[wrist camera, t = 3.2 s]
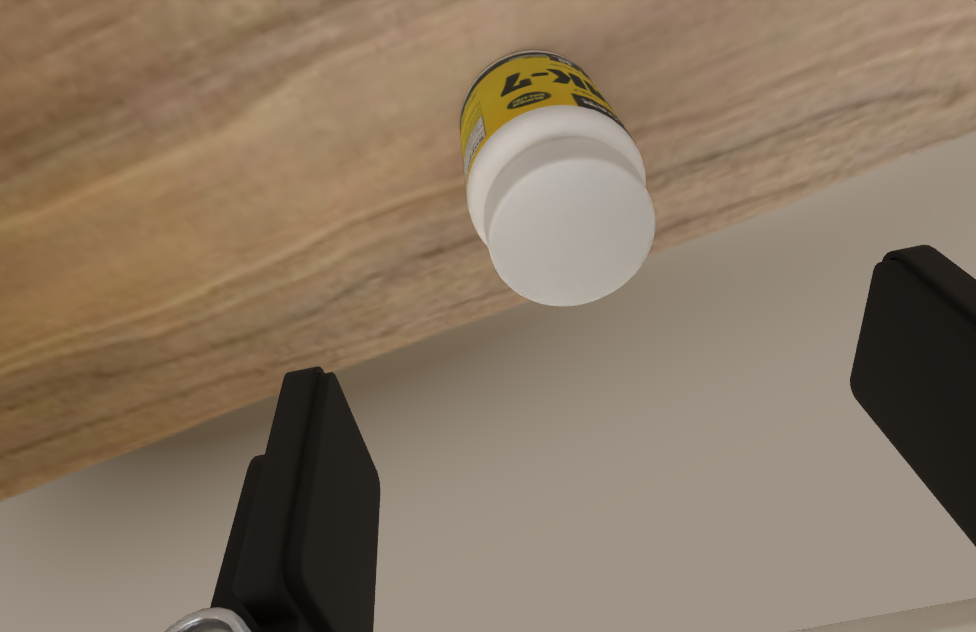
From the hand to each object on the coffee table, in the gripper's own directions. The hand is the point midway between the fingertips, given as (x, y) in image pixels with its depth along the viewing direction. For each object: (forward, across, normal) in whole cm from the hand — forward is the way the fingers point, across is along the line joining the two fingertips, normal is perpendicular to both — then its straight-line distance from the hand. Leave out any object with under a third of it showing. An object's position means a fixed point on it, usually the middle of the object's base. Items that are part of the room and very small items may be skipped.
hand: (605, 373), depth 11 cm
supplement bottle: (+13, -1, 0) cm, 13 cm away
